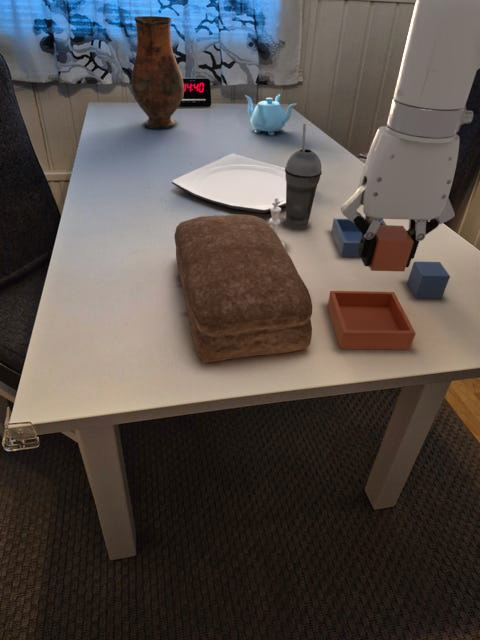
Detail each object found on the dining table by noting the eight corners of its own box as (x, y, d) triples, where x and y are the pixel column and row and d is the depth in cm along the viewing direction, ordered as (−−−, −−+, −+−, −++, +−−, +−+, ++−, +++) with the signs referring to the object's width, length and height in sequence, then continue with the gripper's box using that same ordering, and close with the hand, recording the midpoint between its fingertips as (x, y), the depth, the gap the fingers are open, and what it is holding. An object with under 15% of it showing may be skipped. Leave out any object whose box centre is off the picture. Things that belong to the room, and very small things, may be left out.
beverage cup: (295, 236, 90) (307, 133, 78) (272, 222, 95) (281, 123, 82) (320, 227, 94) (337, 127, 81) (297, 214, 98) (309, 118, 86)
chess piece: (254, 247, 86) (257, 197, 80) (271, 239, 89) (275, 190, 83) (273, 256, 83) (278, 206, 77) (290, 248, 86) (296, 199, 80)
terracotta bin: (389, 307, 72) (394, 291, 70) (409, 349, 64) (415, 333, 62) (327, 306, 72) (330, 290, 70) (339, 348, 64) (343, 332, 62)
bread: (262, 251, 85) (266, 194, 78) (315, 355, 62) (328, 288, 55) (172, 258, 81) (168, 199, 74) (194, 371, 59) (192, 301, 52)
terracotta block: (394, 254, 63) (403, 225, 60) (404, 271, 59) (414, 241, 56) (363, 253, 63) (370, 224, 60) (371, 270, 59) (379, 240, 56)
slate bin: (379, 233, 93) (383, 219, 91) (394, 258, 85) (398, 243, 83) (331, 232, 92) (333, 218, 90) (341, 257, 84) (344, 242, 82)
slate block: (431, 283, 78) (439, 261, 75) (441, 298, 75) (450, 276, 72) (406, 283, 78) (413, 261, 75) (415, 298, 74) (423, 275, 72)
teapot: (243, 126, 151) (244, 94, 145) (279, 124, 155) (281, 92, 149) (256, 137, 142) (257, 103, 136) (294, 135, 145) (297, 101, 139)
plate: (324, 185, 112) (325, 175, 111) (266, 226, 93) (267, 214, 92) (231, 160, 124) (231, 151, 122) (162, 192, 105) (162, 181, 103)
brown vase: (130, 130, 143) (117, 18, 124) (143, 113, 160) (134, 12, 141) (181, 133, 143) (177, 21, 124) (189, 115, 160) (186, 15, 141)
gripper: (482, 114, 53) (433, 249, 64) (341, 108, 52) (317, 246, 63) (514, 132, 47) (454, 278, 58) (356, 126, 46) (327, 275, 57)
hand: (383, 260), depth 61 cm, fingers closed on terracotta block, 4 cm apart
